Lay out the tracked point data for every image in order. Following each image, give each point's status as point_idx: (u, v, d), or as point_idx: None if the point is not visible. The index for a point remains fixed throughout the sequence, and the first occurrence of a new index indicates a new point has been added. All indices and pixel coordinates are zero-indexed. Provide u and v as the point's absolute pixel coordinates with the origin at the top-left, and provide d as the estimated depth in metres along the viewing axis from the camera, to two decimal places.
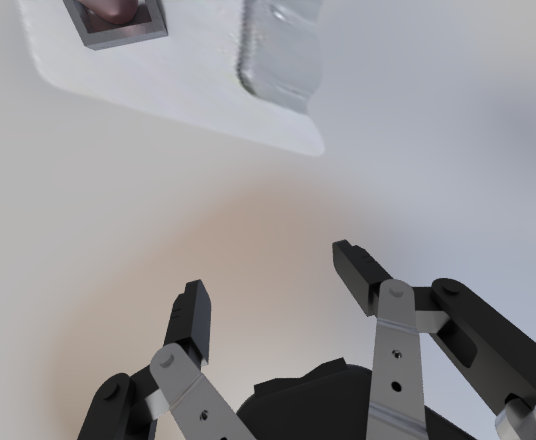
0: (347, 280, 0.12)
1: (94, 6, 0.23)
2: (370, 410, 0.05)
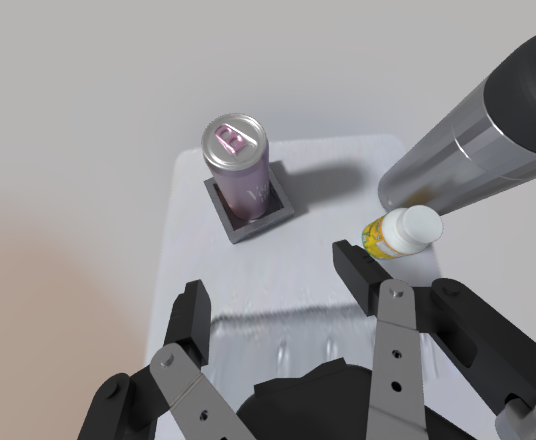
0: (347, 280, 0.12)
1: None
2: (370, 410, 0.05)
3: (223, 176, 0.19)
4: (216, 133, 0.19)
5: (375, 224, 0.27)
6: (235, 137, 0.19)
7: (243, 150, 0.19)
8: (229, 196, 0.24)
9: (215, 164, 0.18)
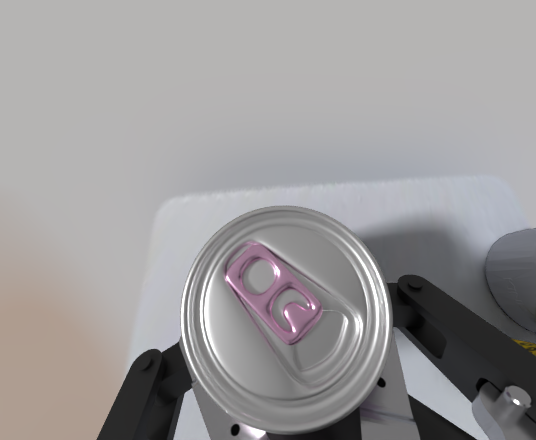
0: None
1: None
2: (361, 413, 0.05)
3: None
4: (229, 275, 0.06)
5: None
6: (289, 289, 0.06)
7: (314, 331, 0.06)
8: None
9: (226, 409, 0.05)
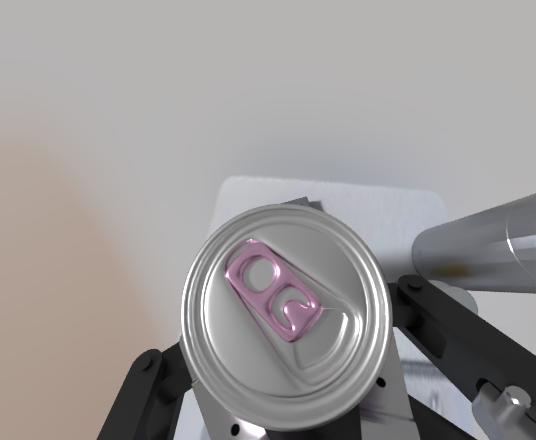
0: None
1: None
2: (361, 413, 0.05)
3: None
4: (229, 273, 0.06)
5: None
6: (289, 287, 0.06)
7: (315, 329, 0.06)
8: None
9: (226, 406, 0.05)
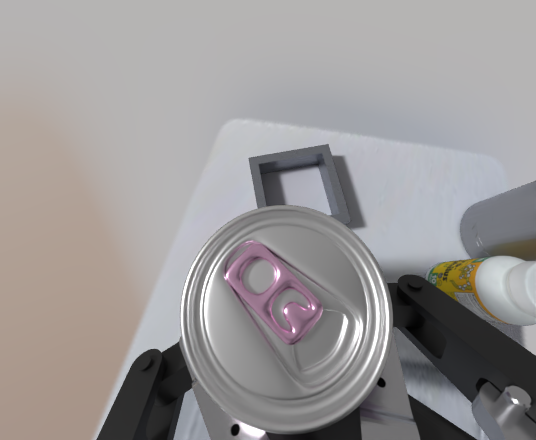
0: None
1: None
2: (361, 413, 0.05)
3: None
4: (229, 274, 0.06)
5: (460, 267, 0.20)
6: (289, 288, 0.06)
7: (315, 330, 0.06)
8: None
9: (226, 409, 0.05)
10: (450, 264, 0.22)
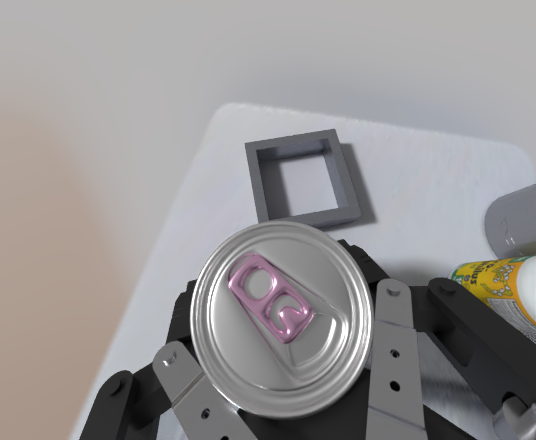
0: None
1: None
2: (369, 410, 0.05)
3: None
4: (232, 283, 0.07)
5: (493, 268, 0.17)
6: (284, 295, 0.07)
7: (307, 331, 0.07)
8: None
9: (230, 399, 0.06)
10: (478, 265, 0.19)
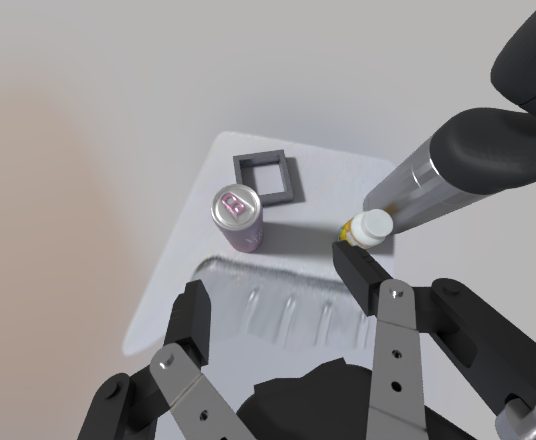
0: (347, 280, 0.12)
1: None
2: (370, 410, 0.05)
3: (227, 232, 0.25)
4: (222, 200, 0.25)
5: (350, 220, 0.35)
6: (237, 203, 0.25)
7: (243, 213, 0.25)
8: (230, 240, 0.30)
9: (221, 225, 0.24)
10: (348, 221, 0.37)
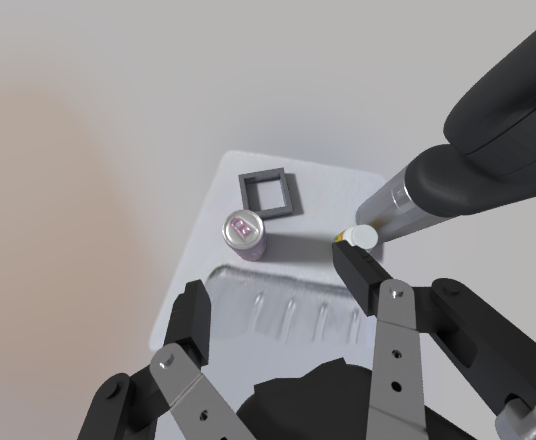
0: (347, 280, 0.12)
1: None
2: (370, 410, 0.05)
3: (236, 250, 0.30)
4: (232, 223, 0.30)
5: (342, 232, 0.40)
6: (244, 226, 0.30)
7: (249, 234, 0.30)
8: (238, 254, 0.35)
9: (231, 245, 0.29)
10: None
